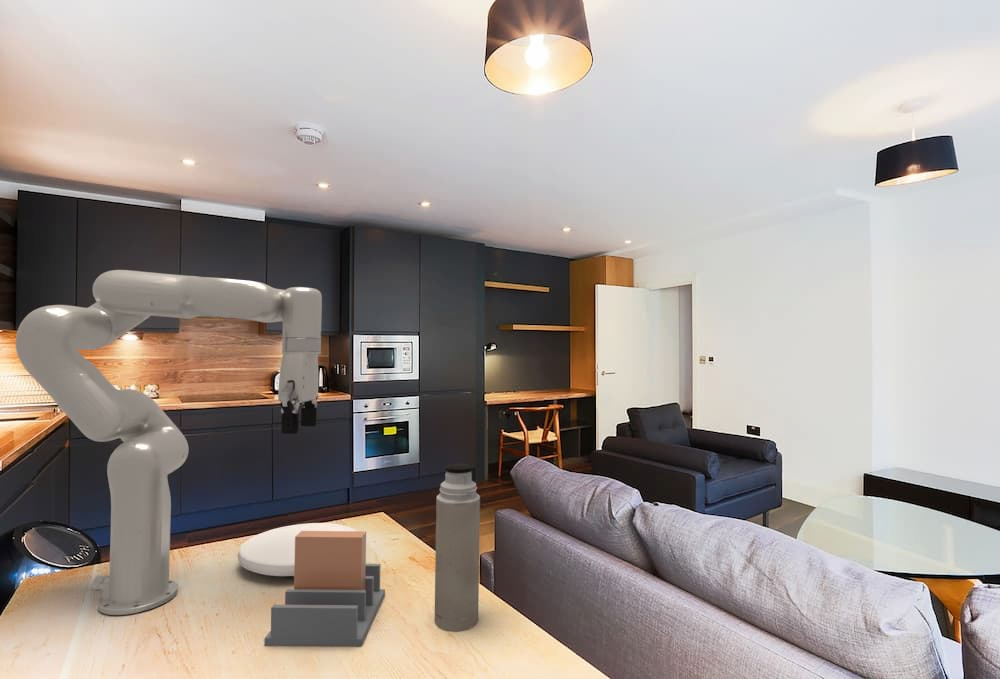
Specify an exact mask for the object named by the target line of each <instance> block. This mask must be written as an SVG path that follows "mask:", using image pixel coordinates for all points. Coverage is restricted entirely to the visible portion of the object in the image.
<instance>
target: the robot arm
mask: <svg viewBox="0 0 1000 679" xmlns="http://www.w3.org/2000/svg"><path fill="white" fill-rule="evenodd" d="M92 295H93V297H94V299H95V302H94V303H92V304H91V305H90V306H88V307H82V306H77V305H76V306H75V305H69V304H53V305H45V306H41V307H38V308H36V309H33V310H32V311H31V312H29V313H28V314H27V315H26V316H25V317H24V318H23V320H22V321H21V322H20V324H19V326H18V328H17V332H16V336H15V349H16V354H17V356H18V359H19V361H20V363H21V365H22V367H24V369H25V370H26V371H27V373H28V374H29V376H31V377H32V379H34V380H35V381H36V382H37V383H38V385H40V387H42V389H43V390H44V391H45V392H46V393H47V394H48V396H50V397H51V399H52V400H53V401H54V402H55V403H56V405H57V406H58V407H59V408H60V410H61V411H62V412H64V414H65V415H66V416H67V417H68V418H69V420H71V422H72V423H73V424H74V425H75V427H77V428H78V430H79V431H80V432H81V433H82V434H83V435H84V436H85V438H88V439H90V440H92V441H94V442H104V443H105V442H110V441H113V440H116V439H120V440H121V441H122V443H120V445H118V446H117V447H116V448H115V449H114V451H113V452H112V453H111V454H110V457H109V459H108V462H107V468H106V472H107V480H108V488H109V492H110V543H109V544H110V546H109V547H110V548H109V575H96V577H95V578H94V579H93V583H92V584H91V585H90V589H89V591H91V592H99V591H102V597H100V599H99V600H98V603H97V610H98V611H99V612H100V613H102V614H104V615H108V616H109V615H111V616H123V615H124V616H125V615H131V614H132V615H133V614H137V613H142V612H144V611H149V610H151V609H155V608H157V607H159V606H162V605H163V604H166V603H167V602H169V601H171V600H172V599H173V598H175V596H177V594H178V590H179V584H178V583H177V582H176V581H174V580H173V579H170V553H171V551H170V550H171V548H170V547H171V521H172V520H171V517H172V516H171V515H172V514H171V513H172V510H171V509H172V501H171V491H170V486H169V485H170V484H169V481H168V475H170V474H171V473H173V472H174V471H176V470H177V469H179V468H180V467H182V466H183V465H184V463H186V461H187V458H188V456H189V444H188V441H187V439H186V437H185V435H184V434H183V433H182V431H181V430H180V429H179V428H178V426H177V425H176V424H175V423H174V422H173V421H172V419H171V418H170V417H169V416H168V415H167V414H166V412H165V411H164V410H163V409H162V408H161V407H160V406H159V405H158V403H157V402H156V401H155V400H154V399H153V398H151V397H150V396H149V395H147V393H144V392H142V391H141V390H136V389H131V388H128V389H127V388H126V389H124V388H122V389H118V388H116V387H115V386H114V385H113V384H112V383H111V382H110V380H108V379H107V378H106V377H105V376H104V374H103V373H102V371H100V370H99V368H98V367H97V366H95V365H94V364H93V363H92V362H91V361H89V360H88V359H87V358H86V357H84V355H82V354H81V353H80V352H79V351H90V350H91V351H92V350H99V349H101V348H104V347H107V346H109V345H110V344H112V343H113V342H115V341H117V340H118V339H119V338H121V337H122V336H124V335H126V334H127V333H129V332H130V331H132V330H133V329H134V328H135V327H137V326H138V325H140V324H142V323H143V322H144V321H145V320H147V319H149V318H150V317H151V316H154V317H167V318H179V319H194V318H197V317H209V318H210V317H215V318H227V319H238V320H248V321H249V320H250V321H256V322H260V323H266V324H267V323H277V322H278V323H279V322H282V339H281V342H282V344H281V354H282V357H281V363H280V364H281V365H280V369H279V370H280V371H279V380H278V392H277V393H278V394H277V395H278V396H277V398H278V399H277V400H278V401H279V402H280V407H281V409H280V413H281V431H280V432H281V434H282V435H283V434H284V435H285V434H286V435H287V434H288V435H289V434H291V435H293V434H294V435H295V434H296V435H297V434H299V430H300V428H299V427H300V426H301V427H316V426H317V415H318V414H317V413H318V412H317V410H318V401H317V400H318V399H319V395H318V394H319V376H320V375H319V360H318V359H319V358H318V357H319V355H321V354H322V351H321V350H322V344H321V343H322V315H323V314H322V312H323V310H322V308H323V299H322V298H323V297H322V293H321V291H320V290H318V289H317V288H314V287H313V288H312V287H307V286H305V287H304V286H294V287H291V286H290V287H289V288H286V289H280V288H275V287H272V286H270V285H268V284H267V283H263V282H260V281H254V280H246V279H245V280H244V279H235V278H225V277H224V278H223V277H211V276H210V277H208V276H206V277H205V276H196V275H183V274H174V273H173V274H171V273H169V274H168V273H162V272H160V273H159V272H149V271H139V270H130V269H129V270H128V269H114V270H113V269H112V270H108V271H105V272H103V273H101V274H100V275H98V277H97V278H96V279H95V280H94V282H93V283H92ZM300 404H302V407H301V408H300V413H298V412H299V411H298V410H299V407H300Z"/></svg>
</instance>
